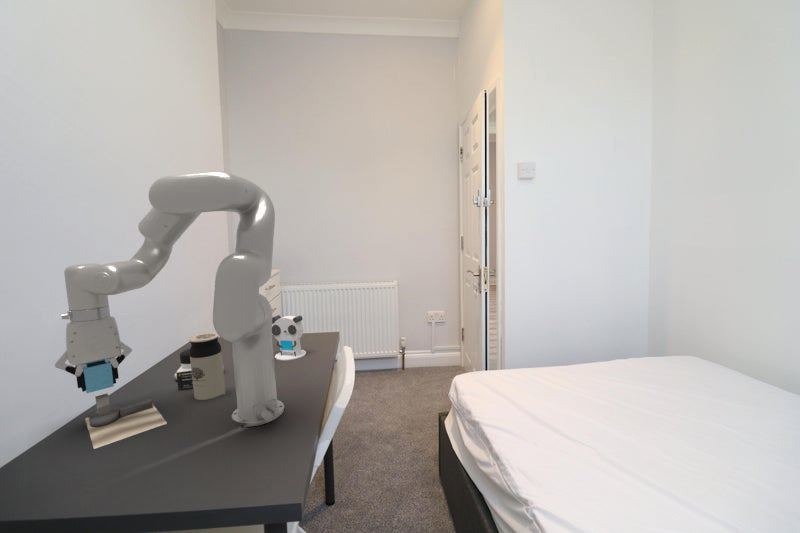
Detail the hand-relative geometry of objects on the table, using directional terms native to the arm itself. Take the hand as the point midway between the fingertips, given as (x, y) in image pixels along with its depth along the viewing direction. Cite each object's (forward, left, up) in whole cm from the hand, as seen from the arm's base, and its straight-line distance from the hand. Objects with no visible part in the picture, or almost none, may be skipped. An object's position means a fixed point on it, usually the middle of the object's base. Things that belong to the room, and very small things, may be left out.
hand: (99, 385), depth 93 cm
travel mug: (-4, -24, -11) cm, 26 cm away
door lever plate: (-4, -4, -11) cm, 12 cm away
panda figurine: (+11, -57, -11) cm, 59 cm away
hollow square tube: (0, 0, 0) cm, 0 cm away
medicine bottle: (+7, -23, -11) cm, 26 cm away
